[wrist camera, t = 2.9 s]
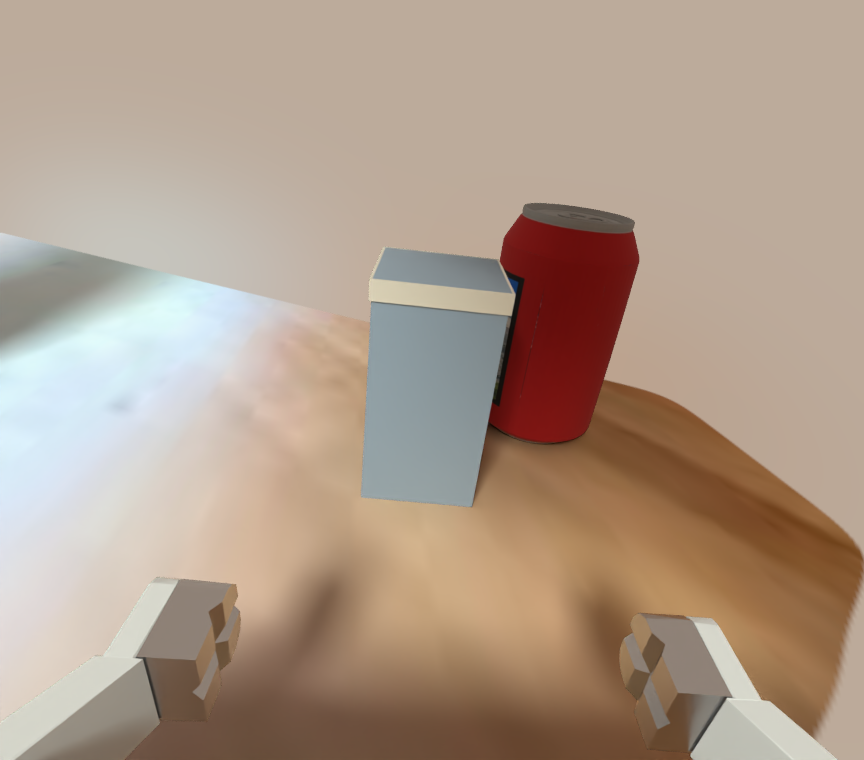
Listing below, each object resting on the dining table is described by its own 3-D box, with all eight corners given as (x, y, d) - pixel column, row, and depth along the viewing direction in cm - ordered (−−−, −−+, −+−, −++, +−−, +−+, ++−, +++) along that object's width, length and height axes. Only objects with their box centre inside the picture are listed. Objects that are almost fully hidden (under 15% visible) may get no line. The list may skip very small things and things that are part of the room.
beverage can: (498, 382, 33) (534, 197, 28) (597, 415, 31) (658, 218, 25) (454, 425, 28) (487, 206, 22) (569, 470, 25) (640, 234, 20)
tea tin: (358, 498, 22) (369, 278, 17) (372, 433, 26) (383, 246, 22) (474, 508, 22) (515, 294, 17) (467, 442, 27) (498, 259, 22)
